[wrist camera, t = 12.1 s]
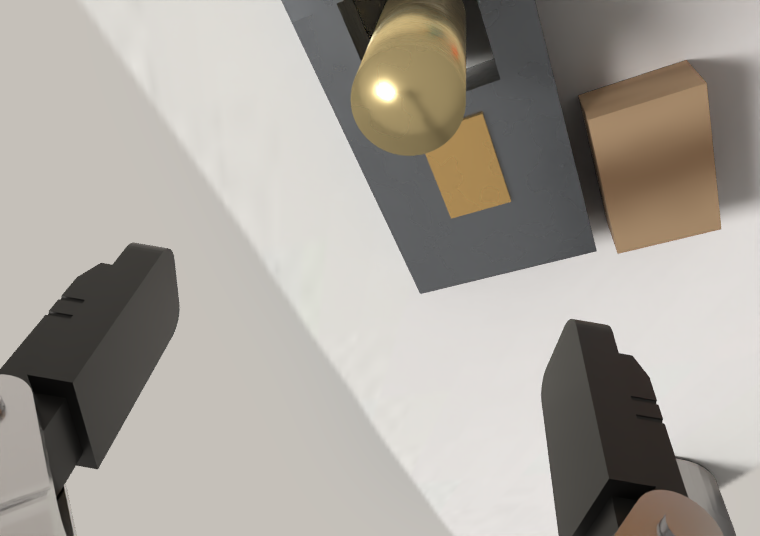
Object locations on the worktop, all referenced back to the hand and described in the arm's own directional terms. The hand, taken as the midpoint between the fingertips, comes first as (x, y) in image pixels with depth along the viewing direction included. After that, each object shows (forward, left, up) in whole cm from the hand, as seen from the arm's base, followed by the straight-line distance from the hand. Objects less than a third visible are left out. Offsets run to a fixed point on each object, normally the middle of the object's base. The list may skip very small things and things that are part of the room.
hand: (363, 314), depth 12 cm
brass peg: (0, 0, -21) cm, 21 cm away
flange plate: (-4, 0, -21) cm, 21 cm away
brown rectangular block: (-10, -9, -21) cm, 25 cm away
